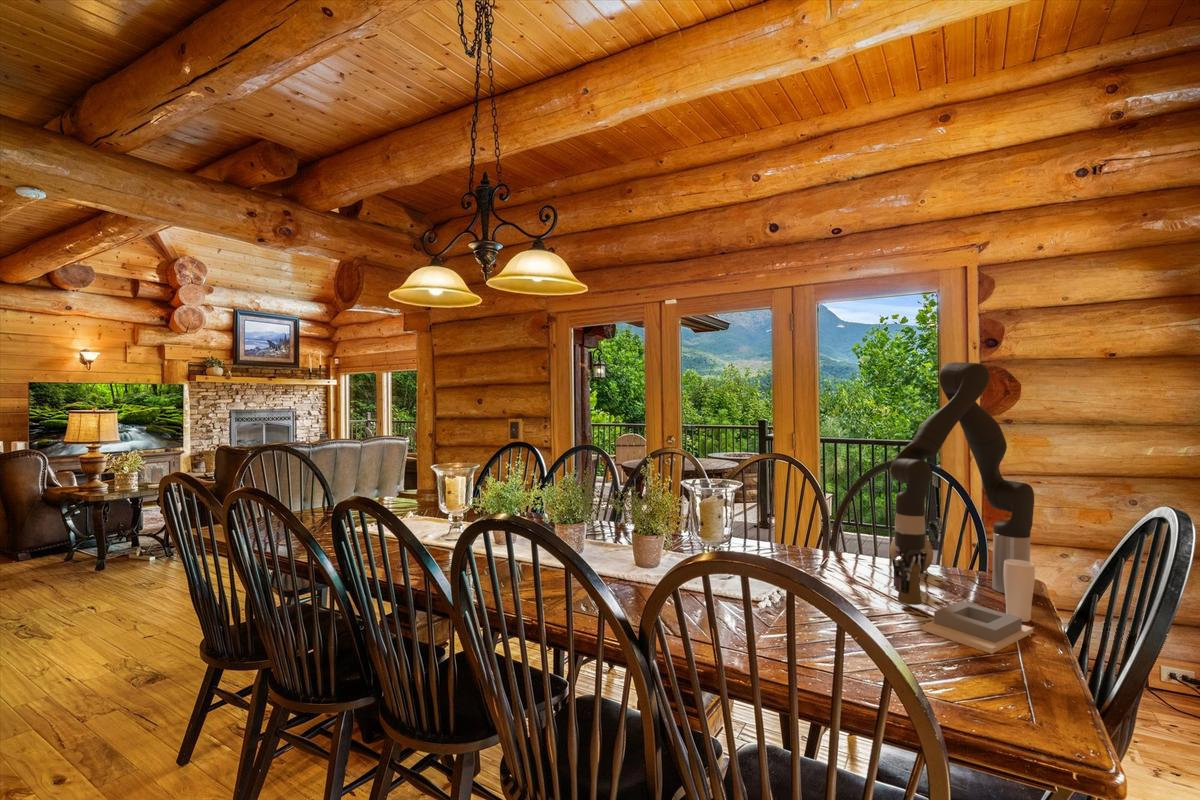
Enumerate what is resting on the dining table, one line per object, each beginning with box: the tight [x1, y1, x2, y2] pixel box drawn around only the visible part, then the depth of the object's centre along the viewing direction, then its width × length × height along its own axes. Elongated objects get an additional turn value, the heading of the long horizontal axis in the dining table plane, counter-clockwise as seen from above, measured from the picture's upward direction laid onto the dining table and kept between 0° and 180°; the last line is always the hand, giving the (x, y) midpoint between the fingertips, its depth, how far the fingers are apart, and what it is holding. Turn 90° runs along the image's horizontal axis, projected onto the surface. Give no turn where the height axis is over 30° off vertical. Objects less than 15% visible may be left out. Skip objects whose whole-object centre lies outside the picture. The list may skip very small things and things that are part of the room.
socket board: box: [921, 600, 1034, 655], centre depth 148 cm, size 22×16×4 cm
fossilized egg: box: [889, 535, 934, 572], centre depth 196 cm, size 13×13×15 cm
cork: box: [897, 563, 923, 606], centre depth 164 cm, size 6×6×11 cm
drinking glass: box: [1004, 559, 1036, 623], centre depth 157 cm, size 7×7×15 cm
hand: (909, 591), depth 164 cm, fingers closed on cork, 3 cm apart
